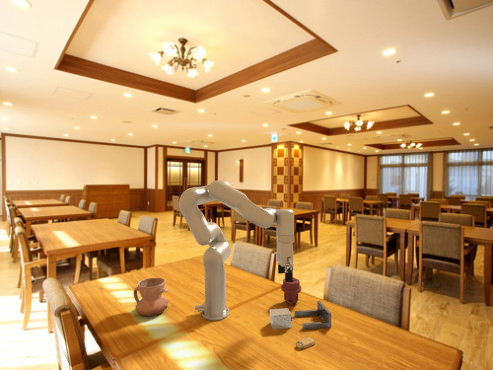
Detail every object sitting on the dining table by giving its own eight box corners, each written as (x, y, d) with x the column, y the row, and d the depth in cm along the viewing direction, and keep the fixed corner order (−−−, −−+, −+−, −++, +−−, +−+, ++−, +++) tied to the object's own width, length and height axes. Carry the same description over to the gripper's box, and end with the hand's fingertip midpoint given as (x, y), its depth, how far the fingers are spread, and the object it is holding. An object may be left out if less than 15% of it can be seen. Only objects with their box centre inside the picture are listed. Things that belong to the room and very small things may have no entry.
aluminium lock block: (272, 329, 110) (272, 315, 110) (269, 323, 115) (269, 309, 115) (292, 327, 111) (292, 313, 111) (289, 321, 116) (289, 308, 116)
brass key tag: (299, 350, 97) (299, 347, 96) (294, 345, 99) (294, 342, 99) (314, 344, 100) (314, 341, 100) (309, 340, 103) (309, 336, 103)
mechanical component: (301, 299, 137) (301, 308, 127) (281, 297, 139) (280, 306, 129) (301, 275, 137) (301, 283, 127) (281, 274, 139) (280, 281, 129)
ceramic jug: (176, 306, 130) (175, 277, 129) (159, 321, 116) (158, 289, 116) (144, 302, 134) (144, 274, 134) (124, 316, 120) (123, 285, 120)
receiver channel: (303, 329, 110) (303, 315, 109) (294, 315, 121) (294, 302, 121) (331, 327, 111) (331, 313, 111) (319, 313, 123) (319, 300, 122)
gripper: (271, 234, 122) (271, 271, 122) (283, 243, 105) (283, 286, 105) (286, 233, 123) (286, 269, 124) (301, 242, 106) (300, 284, 107)
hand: (285, 277), depth 115 cm, fingers open, 9 cm apart
